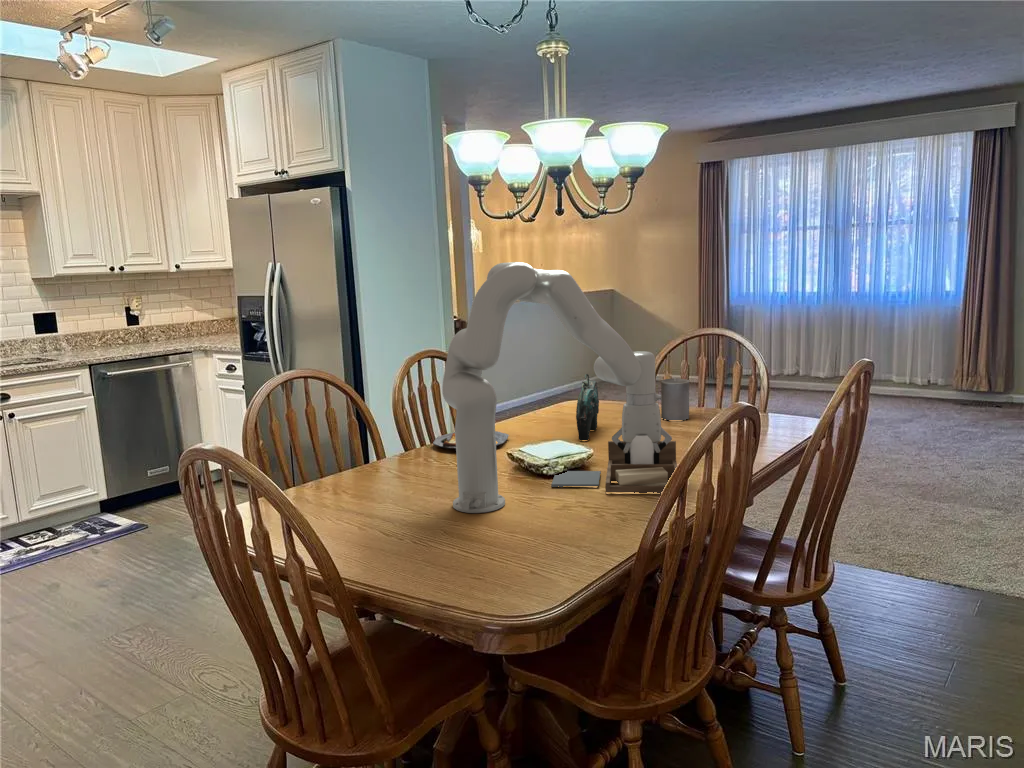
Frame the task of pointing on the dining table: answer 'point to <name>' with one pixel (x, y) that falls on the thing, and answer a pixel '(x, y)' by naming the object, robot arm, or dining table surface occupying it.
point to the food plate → (450, 442)
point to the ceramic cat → (587, 408)
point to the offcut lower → (648, 484)
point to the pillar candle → (675, 399)
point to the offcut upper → (641, 476)
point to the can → (641, 450)
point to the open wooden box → (638, 467)
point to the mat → (577, 478)
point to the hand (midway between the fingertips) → (642, 465)
